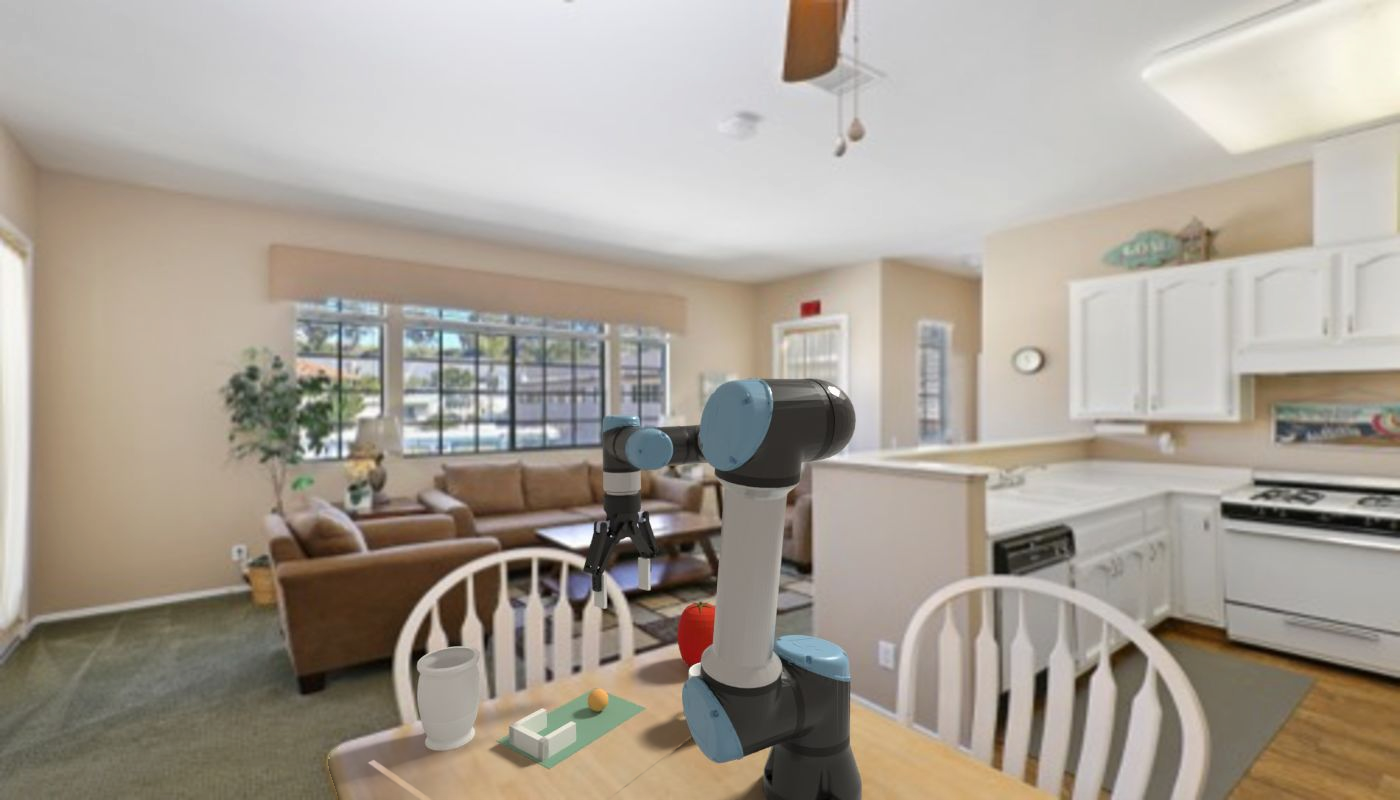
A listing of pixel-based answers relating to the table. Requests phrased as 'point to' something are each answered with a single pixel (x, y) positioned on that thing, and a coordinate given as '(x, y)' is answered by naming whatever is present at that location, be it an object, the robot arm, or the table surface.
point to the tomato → (695, 631)
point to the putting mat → (582, 724)
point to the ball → (597, 700)
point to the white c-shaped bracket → (535, 744)
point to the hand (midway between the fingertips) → (623, 597)
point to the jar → (448, 696)
